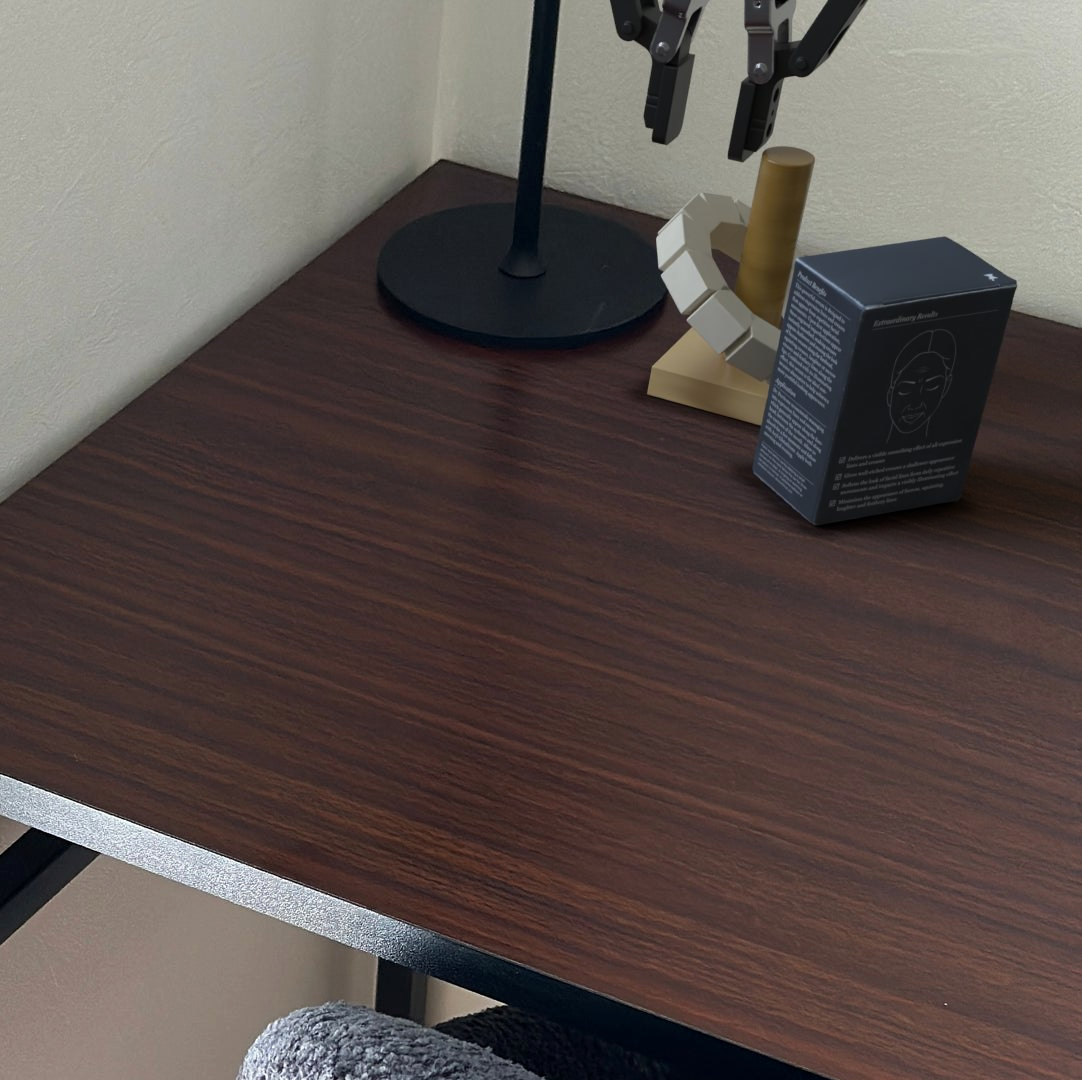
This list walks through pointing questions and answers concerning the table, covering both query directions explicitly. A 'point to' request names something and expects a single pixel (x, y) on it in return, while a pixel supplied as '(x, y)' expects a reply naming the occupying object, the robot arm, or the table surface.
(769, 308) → the post
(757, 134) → the robot arm
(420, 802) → the table surface
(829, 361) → the box
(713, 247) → the ring
